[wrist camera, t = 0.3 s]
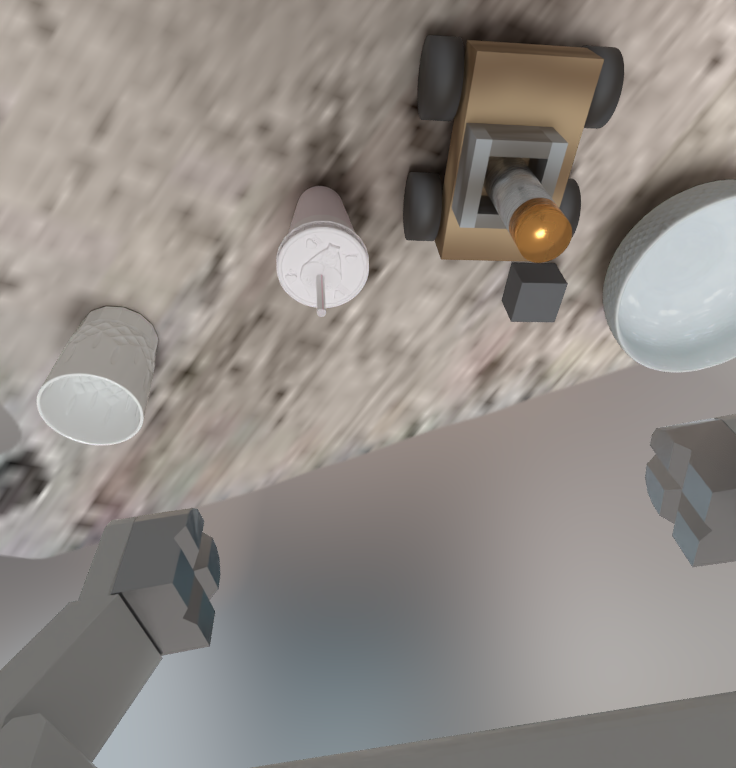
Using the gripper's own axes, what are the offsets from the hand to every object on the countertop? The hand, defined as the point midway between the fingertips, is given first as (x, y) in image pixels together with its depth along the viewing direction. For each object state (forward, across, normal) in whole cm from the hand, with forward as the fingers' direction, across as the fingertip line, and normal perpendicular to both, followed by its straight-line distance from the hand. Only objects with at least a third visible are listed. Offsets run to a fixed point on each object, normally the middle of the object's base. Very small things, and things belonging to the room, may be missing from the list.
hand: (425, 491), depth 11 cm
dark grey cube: (+40, -14, +18) cm, 47 cm away
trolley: (+39, -11, +5) cm, 41 cm away
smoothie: (+40, +3, +8) cm, 40 cm away
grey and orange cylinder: (+33, -10, +5) cm, 35 cm away
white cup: (+41, +23, +16) cm, 50 cm away
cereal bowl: (+40, -28, +18) cm, 52 cm away
